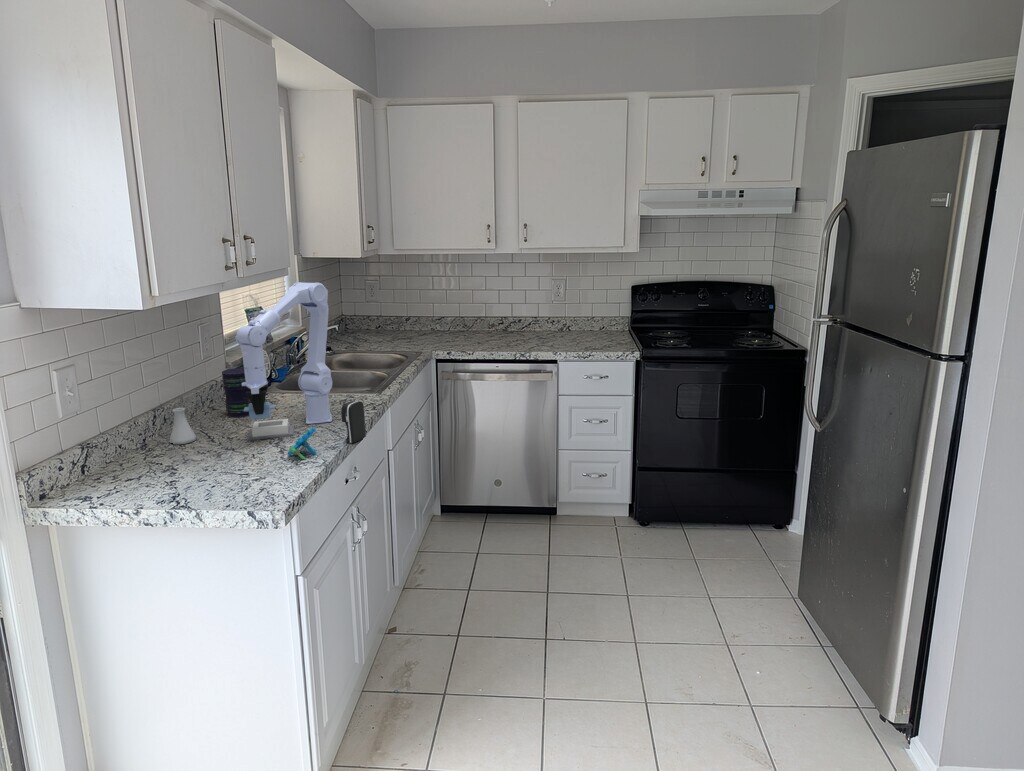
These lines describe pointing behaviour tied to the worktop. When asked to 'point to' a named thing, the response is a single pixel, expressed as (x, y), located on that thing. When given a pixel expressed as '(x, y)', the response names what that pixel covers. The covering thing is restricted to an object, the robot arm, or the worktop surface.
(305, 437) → the gear
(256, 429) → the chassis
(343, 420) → the battery charger
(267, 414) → the block
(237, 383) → the storage jar
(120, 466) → the worktop surface
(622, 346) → the worktop surface
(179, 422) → the flask
